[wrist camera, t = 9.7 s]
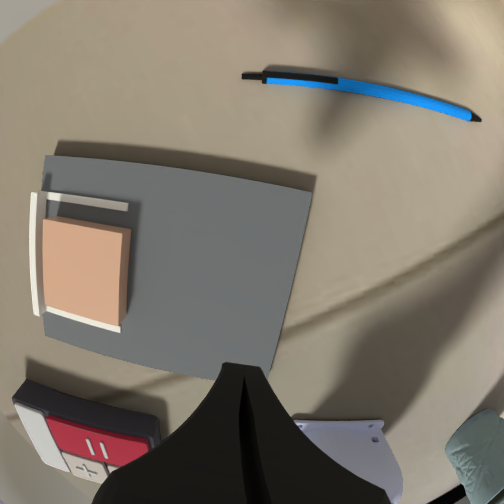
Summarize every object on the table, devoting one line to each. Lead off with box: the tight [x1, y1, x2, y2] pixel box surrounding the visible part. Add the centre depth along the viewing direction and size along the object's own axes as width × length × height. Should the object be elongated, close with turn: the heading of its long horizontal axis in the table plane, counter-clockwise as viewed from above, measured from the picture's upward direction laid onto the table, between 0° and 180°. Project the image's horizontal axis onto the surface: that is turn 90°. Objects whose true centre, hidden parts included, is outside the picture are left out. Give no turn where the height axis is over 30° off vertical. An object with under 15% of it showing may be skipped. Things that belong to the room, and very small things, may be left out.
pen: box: [242, 71, 482, 122], centre depth 17 cm, size 1×19×1 cm, turn 89°
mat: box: [29, 155, 312, 380], centre depth 18 cm, size 18×14×2 cm
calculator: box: [12, 379, 161, 484], centre depth 22 cm, size 11×4×15 cm
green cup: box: [445, 409, 504, 504], centre depth 20 cm, size 10×10×12 cm
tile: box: [42, 216, 131, 326], centre depth 17 cm, size 2×6×6 cm
